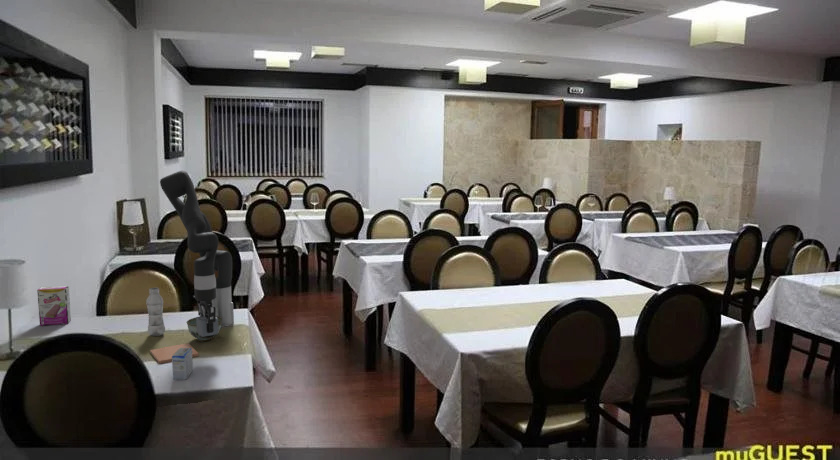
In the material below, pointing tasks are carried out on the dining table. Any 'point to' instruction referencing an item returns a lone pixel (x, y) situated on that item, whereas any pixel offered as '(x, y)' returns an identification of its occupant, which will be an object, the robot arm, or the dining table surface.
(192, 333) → the bowl
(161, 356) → the terracotta tile
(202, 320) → the slate cube
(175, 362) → the medicine box
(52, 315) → the candy bar box
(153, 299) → the plastic bottle
